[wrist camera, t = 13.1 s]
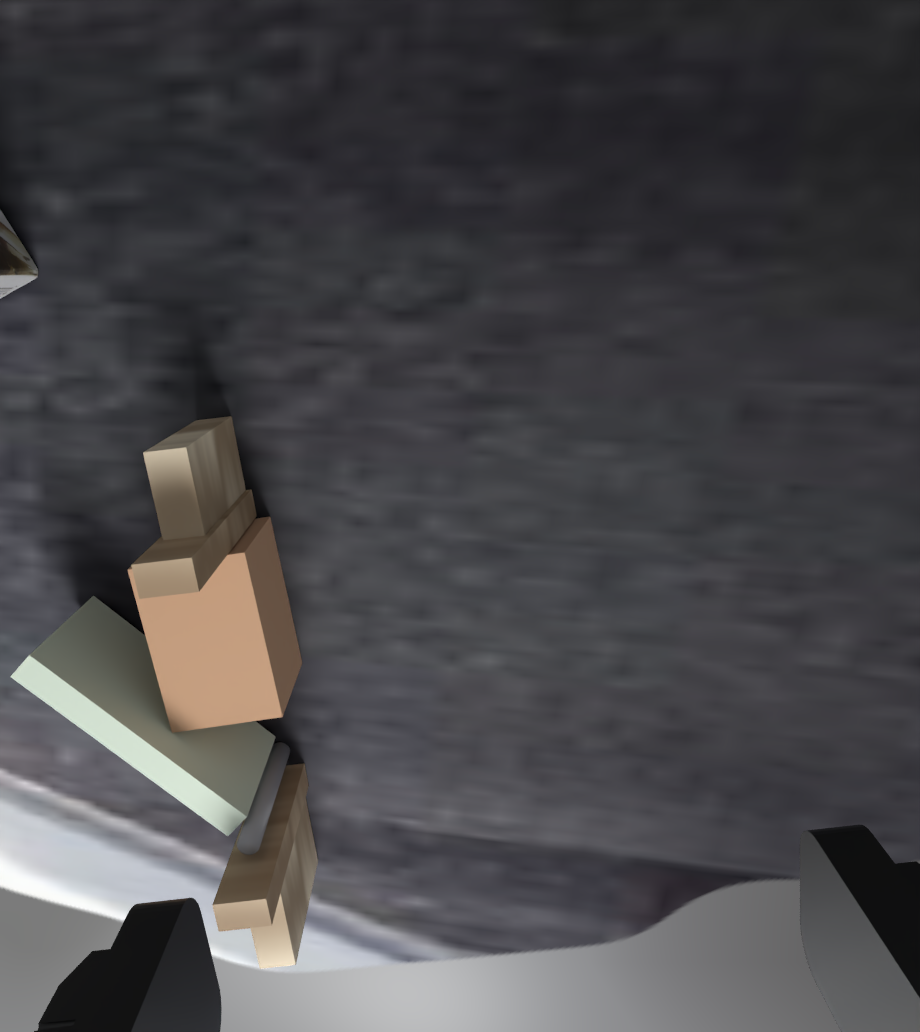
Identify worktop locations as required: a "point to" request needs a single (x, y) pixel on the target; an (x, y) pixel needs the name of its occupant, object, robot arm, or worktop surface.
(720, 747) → the worktop surface
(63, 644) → the door
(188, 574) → the door frame
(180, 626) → the rectangular block
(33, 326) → the worktop surface
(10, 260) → the coffee box
